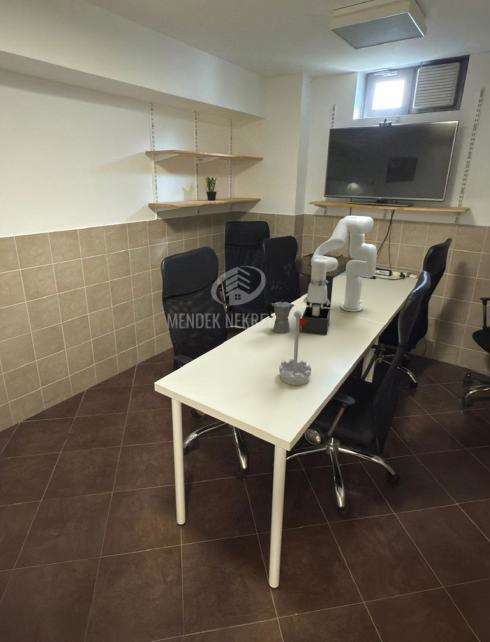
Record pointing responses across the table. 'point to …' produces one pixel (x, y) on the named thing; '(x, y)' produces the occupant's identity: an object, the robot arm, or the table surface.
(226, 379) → the table surface
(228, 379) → the table surface
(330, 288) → the lid
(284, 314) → the coffeepot
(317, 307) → the cylinder
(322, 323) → the coffee maker
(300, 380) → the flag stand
